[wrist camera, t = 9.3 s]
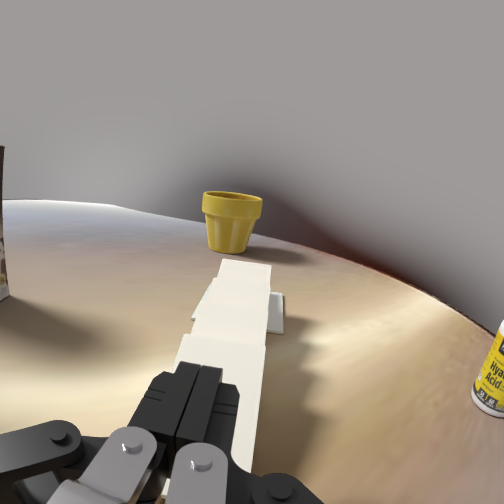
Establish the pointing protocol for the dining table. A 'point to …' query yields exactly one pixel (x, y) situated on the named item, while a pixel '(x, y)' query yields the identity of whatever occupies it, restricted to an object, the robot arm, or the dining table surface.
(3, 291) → the coffee box
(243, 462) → the domino
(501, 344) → the supplement bottle
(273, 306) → the felt pad
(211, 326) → the domino
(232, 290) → the domino
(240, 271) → the domino
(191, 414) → the robot arm
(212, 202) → the plant pot
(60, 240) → the dining table surface
